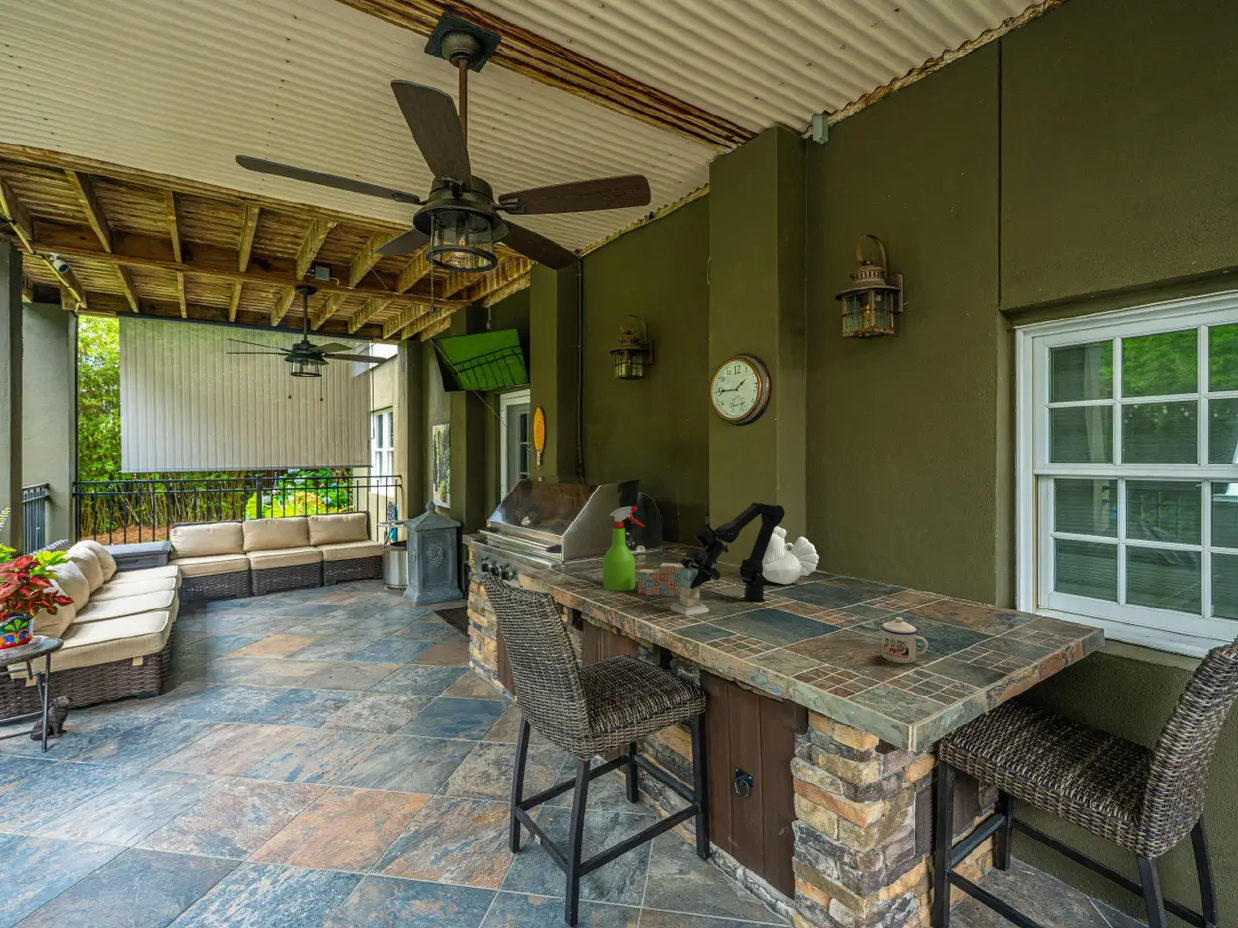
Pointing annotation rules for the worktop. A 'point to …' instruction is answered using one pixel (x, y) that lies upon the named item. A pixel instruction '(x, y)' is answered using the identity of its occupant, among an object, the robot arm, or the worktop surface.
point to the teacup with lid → (900, 641)
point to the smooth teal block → (688, 587)
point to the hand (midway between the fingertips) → (686, 586)
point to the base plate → (689, 609)
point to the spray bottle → (620, 555)
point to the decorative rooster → (788, 558)
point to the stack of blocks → (660, 580)
